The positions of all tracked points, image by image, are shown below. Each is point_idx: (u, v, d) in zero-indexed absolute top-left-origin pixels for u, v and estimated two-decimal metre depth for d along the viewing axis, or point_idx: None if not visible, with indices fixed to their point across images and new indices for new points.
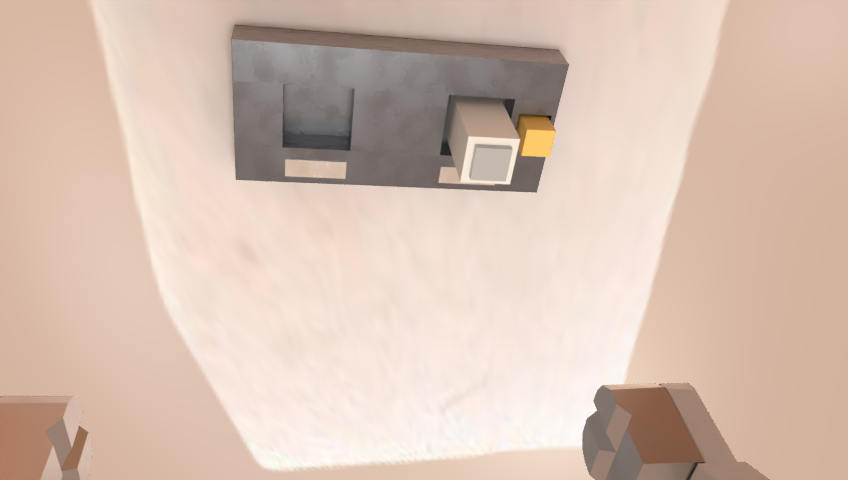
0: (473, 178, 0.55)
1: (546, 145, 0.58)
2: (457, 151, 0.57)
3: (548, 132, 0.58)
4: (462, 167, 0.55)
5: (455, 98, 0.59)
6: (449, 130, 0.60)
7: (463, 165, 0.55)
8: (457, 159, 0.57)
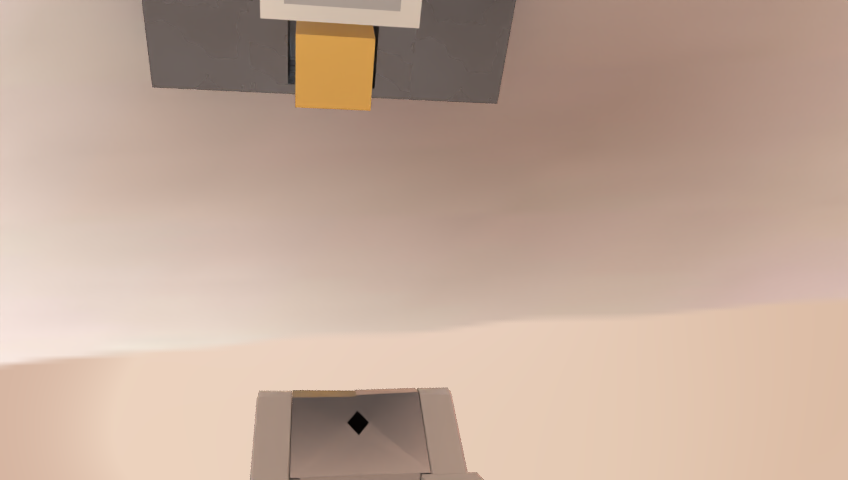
0: None
1: (329, 94, 0.23)
2: None
3: (366, 93, 0.23)
4: None
5: None
6: None
7: None
8: None
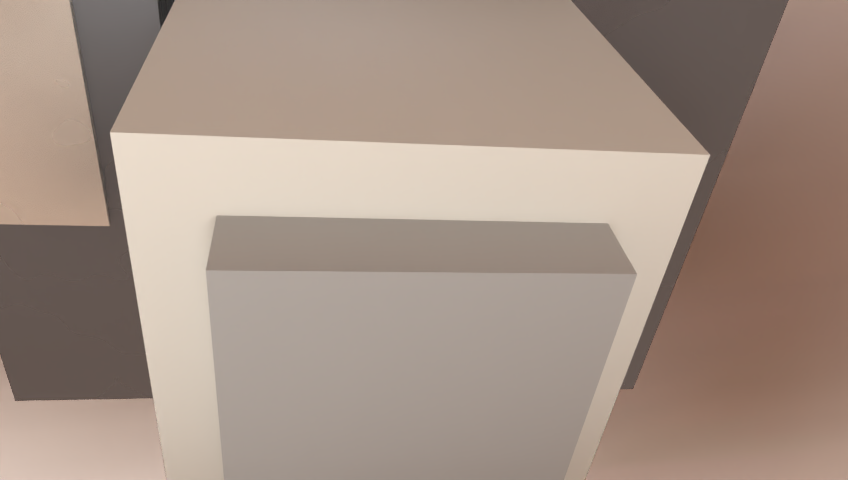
0: (232, 297, 0.05)
1: None
2: (321, 9, 0.07)
3: None
4: (309, 127, 0.05)
5: None
6: None
7: (347, 140, 0.05)
8: (262, 21, 0.06)
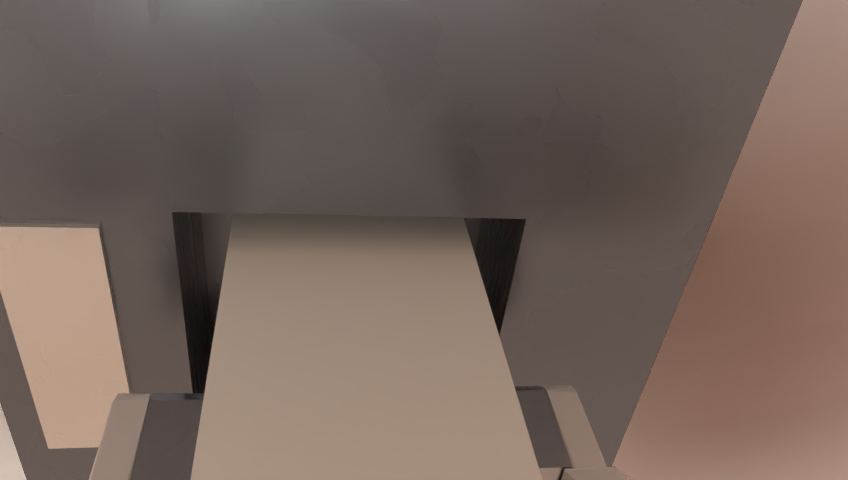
0: None
1: None
2: (310, 393, 0.09)
3: None
4: None
5: (462, 221, 0.13)
6: (296, 214, 0.12)
7: None
8: (267, 418, 0.09)
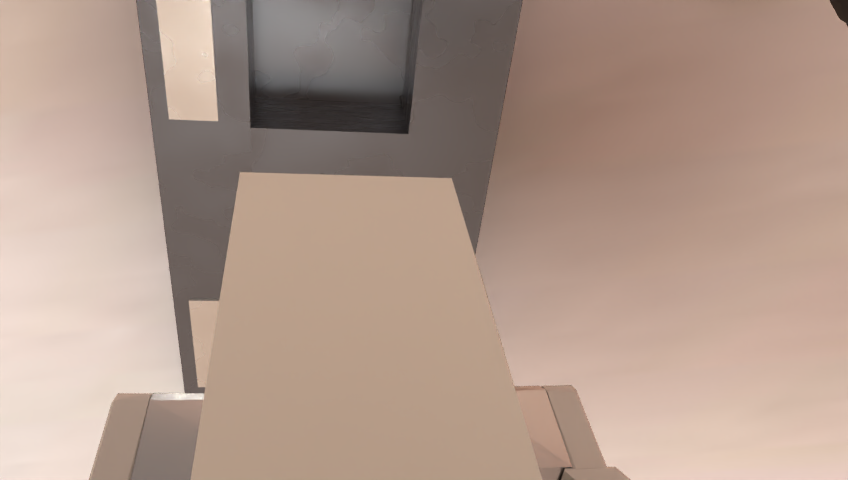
0: None
1: None
2: (310, 393, 0.09)
3: None
4: None
5: (462, 222, 0.13)
6: (296, 215, 0.12)
7: None
8: (267, 419, 0.09)
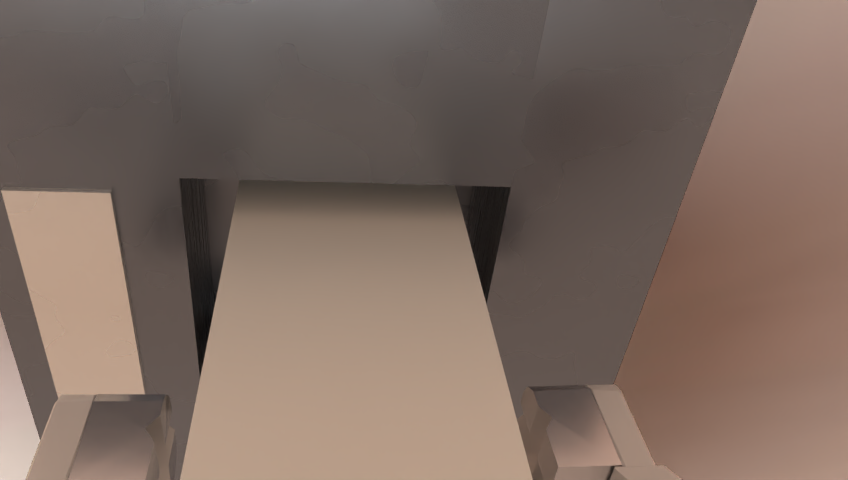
0: None
1: None
2: (305, 341, 0.10)
3: None
4: None
5: (455, 195, 0.14)
6: (297, 186, 0.13)
7: None
8: (265, 361, 0.09)
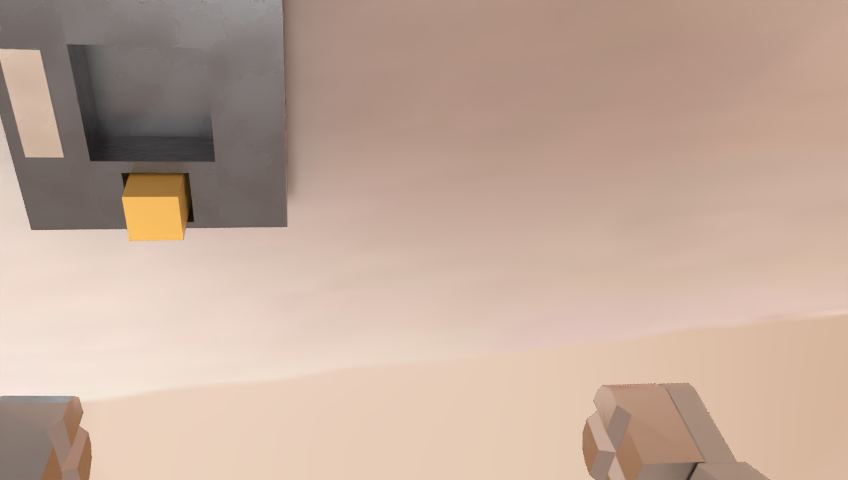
0: None
1: (152, 231, 0.33)
2: None
3: (178, 229, 0.33)
4: None
5: None
6: None
7: None
8: None
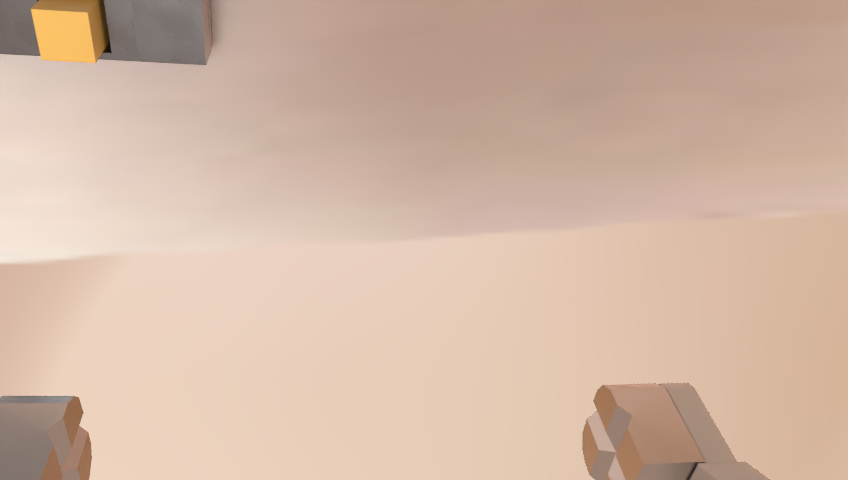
0: None
1: (63, 51, 0.33)
2: None
3: (90, 50, 0.34)
4: None
5: None
6: None
7: None
8: None
